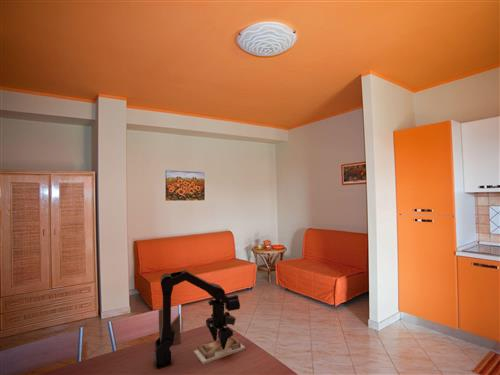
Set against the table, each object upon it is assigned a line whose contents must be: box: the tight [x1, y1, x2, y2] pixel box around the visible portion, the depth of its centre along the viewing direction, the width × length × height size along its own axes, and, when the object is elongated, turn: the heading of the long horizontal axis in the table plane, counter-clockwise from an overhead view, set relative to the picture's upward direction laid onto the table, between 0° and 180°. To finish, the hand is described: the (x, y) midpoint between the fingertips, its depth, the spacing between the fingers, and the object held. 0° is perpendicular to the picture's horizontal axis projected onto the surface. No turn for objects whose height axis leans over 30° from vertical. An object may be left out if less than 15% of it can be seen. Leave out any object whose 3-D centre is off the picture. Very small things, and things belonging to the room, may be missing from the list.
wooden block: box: [158, 306, 182, 345], centre depth 151 cm, size 4×11×18 cm, turn 96°
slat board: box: [193, 336, 246, 365], centre depth 142 cm, size 22×11×3 cm, turn 122°
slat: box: [204, 338, 234, 353], centre depth 142 cm, size 14×4×3 cm, turn 114°
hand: (219, 344), depth 142 cm, fingers open, 9 cm apart
